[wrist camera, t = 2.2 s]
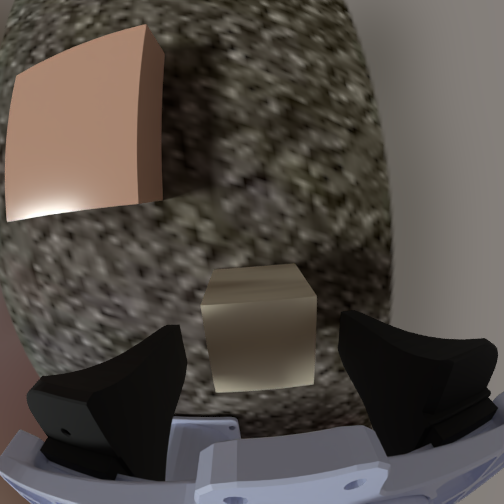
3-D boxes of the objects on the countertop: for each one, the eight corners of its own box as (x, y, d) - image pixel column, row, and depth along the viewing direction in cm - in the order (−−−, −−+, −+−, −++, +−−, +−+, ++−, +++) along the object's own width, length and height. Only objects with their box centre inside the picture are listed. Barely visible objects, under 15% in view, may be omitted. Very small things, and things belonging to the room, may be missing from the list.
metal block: (296, 333, 16) (313, 384, 11) (222, 339, 16) (215, 392, 11) (294, 262, 15) (317, 296, 10) (213, 269, 15) (200, 305, 10)
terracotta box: (164, 199, 15) (138, 203, 11) (46, 213, 14) (7, 222, 10) (166, 56, 13) (146, 24, 9) (50, 89, 12) (16, 75, 8)
